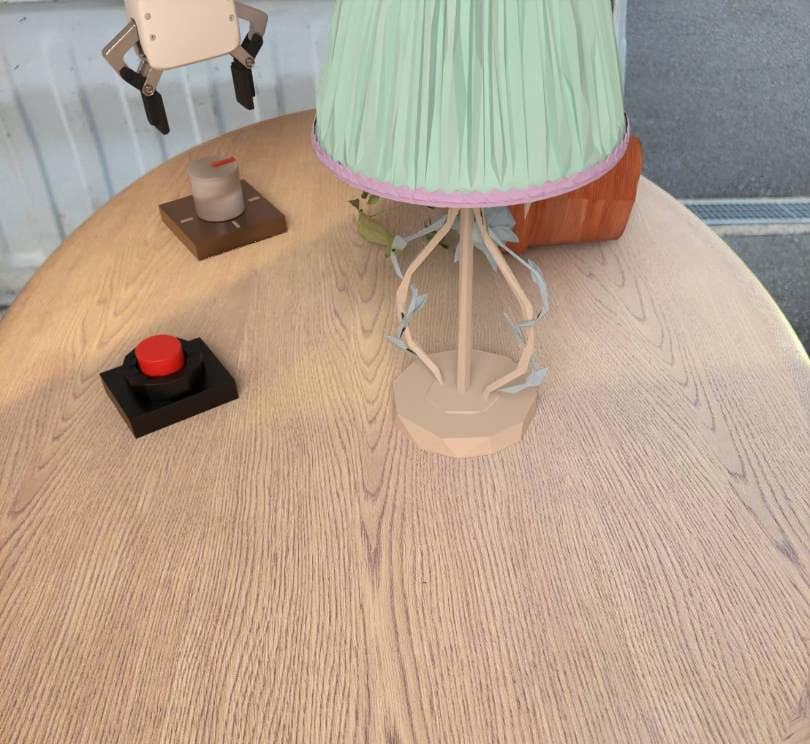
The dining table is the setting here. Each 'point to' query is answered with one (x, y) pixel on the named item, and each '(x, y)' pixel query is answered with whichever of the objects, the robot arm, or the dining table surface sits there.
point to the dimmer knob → (216, 188)
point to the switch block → (169, 389)
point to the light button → (160, 355)
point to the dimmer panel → (223, 224)
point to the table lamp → (469, 166)
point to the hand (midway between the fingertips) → (204, 117)
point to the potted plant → (554, 211)
